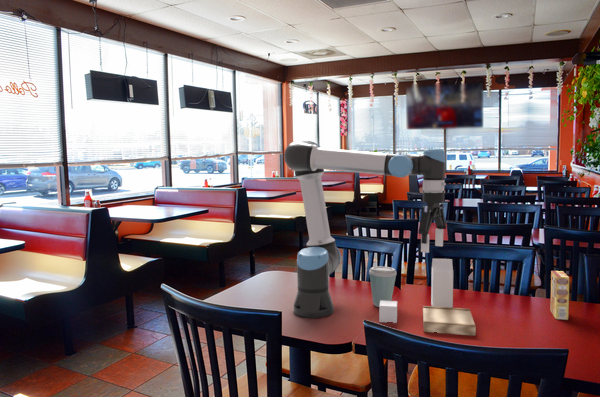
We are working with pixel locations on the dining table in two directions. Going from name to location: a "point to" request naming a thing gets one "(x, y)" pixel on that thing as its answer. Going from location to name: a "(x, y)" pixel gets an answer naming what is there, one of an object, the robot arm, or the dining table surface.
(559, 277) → the candy box
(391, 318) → the white cube
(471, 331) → the board
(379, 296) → the disposable coffee cup
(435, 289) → the milk carton
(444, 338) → the dining table surface
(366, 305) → the dining table surface
